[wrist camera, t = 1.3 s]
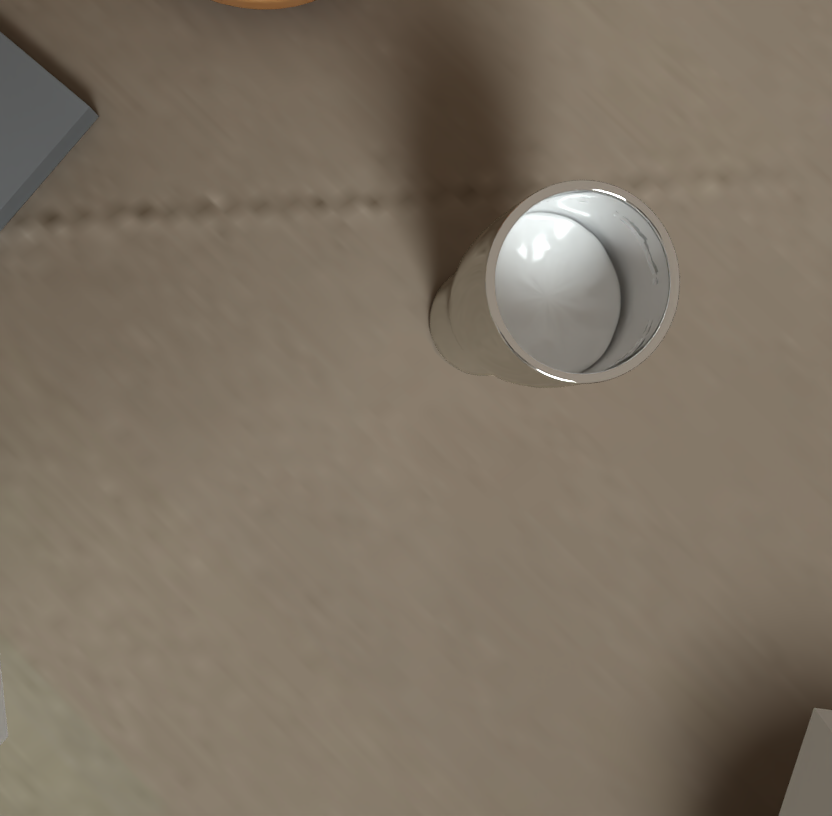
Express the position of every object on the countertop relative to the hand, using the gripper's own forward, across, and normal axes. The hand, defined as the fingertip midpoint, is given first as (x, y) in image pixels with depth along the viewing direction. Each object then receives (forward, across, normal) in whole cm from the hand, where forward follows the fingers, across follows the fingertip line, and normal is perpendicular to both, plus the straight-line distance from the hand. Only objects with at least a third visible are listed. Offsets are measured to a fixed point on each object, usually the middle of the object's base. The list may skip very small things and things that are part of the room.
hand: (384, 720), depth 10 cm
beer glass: (+27, -2, -3) cm, 27 cm away
